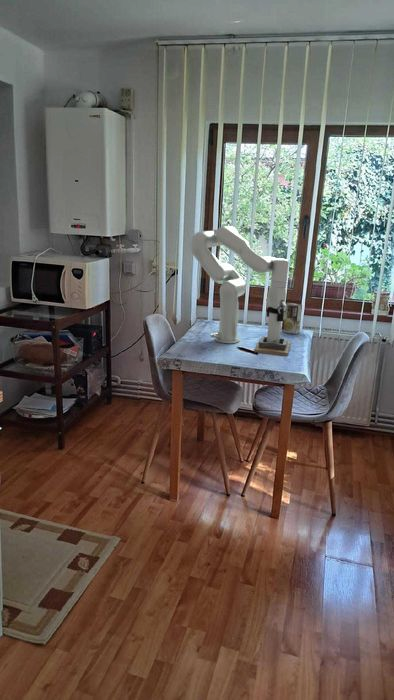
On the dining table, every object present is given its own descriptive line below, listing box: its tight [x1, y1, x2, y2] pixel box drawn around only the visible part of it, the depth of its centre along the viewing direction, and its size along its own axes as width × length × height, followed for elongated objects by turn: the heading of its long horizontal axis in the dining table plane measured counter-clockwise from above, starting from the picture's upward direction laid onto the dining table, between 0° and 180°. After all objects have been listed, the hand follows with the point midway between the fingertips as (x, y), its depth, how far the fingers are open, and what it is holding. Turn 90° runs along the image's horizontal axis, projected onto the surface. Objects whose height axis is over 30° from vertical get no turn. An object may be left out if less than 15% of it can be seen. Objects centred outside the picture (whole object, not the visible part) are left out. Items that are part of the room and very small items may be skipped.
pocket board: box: [253, 335, 291, 357], centre depth 244 cm, size 22×16×4 cm
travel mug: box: [266, 307, 282, 344], centre depth 242 cm, size 6×7×20 cm
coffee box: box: [280, 302, 303, 335], centre depth 278 cm, size 9×6×16 cm
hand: (274, 318), depth 241 cm, fingers open, 9 cm apart
